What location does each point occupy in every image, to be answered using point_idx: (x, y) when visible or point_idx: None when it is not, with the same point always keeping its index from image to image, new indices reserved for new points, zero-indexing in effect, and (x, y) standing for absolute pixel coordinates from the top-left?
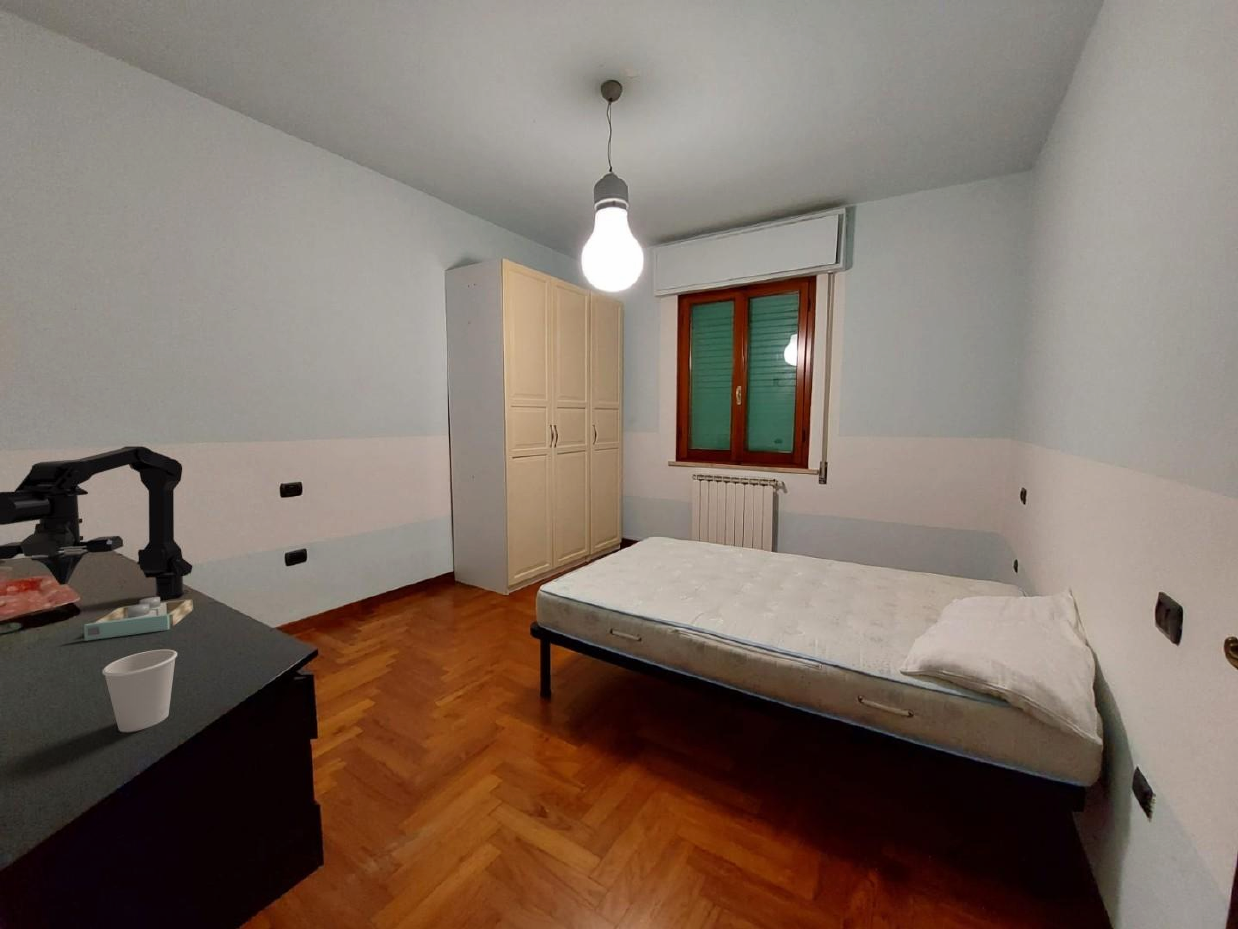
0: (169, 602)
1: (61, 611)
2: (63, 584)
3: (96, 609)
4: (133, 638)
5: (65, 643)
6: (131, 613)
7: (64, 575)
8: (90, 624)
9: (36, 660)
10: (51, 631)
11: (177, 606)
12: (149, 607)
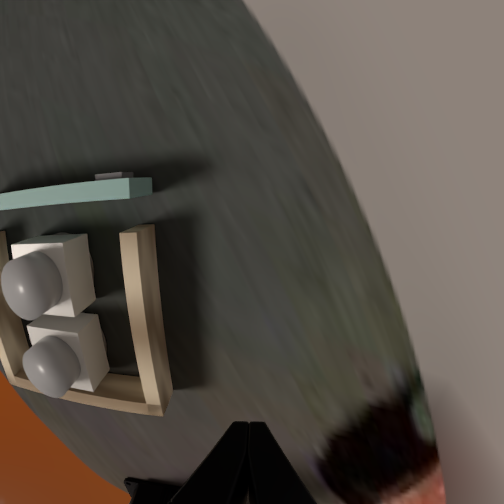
0: None
1: (364, 484)
2: (241, 422)
3: None
4: (40, 162)
5: (212, 192)
6: (34, 257)
7: (210, 469)
8: (110, 182)
9: (217, 53)
10: (325, 352)
11: None
12: (43, 338)
